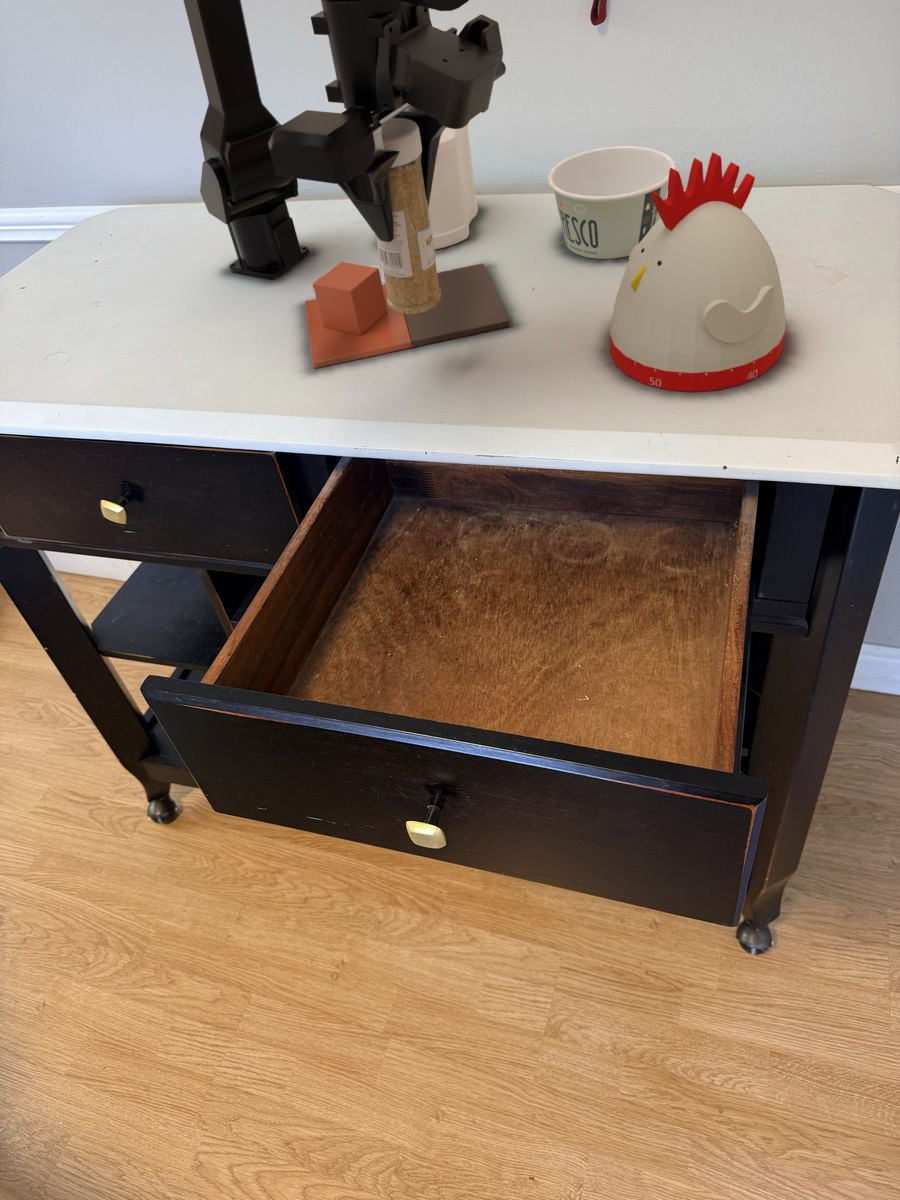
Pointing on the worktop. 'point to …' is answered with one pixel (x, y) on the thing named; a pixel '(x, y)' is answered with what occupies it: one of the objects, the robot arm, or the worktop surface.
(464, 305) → the board
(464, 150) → the jar
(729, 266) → the kitchen timer
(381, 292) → the terracotta block
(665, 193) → the food container
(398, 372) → the worktop surface
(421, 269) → the sprinkles bottle
